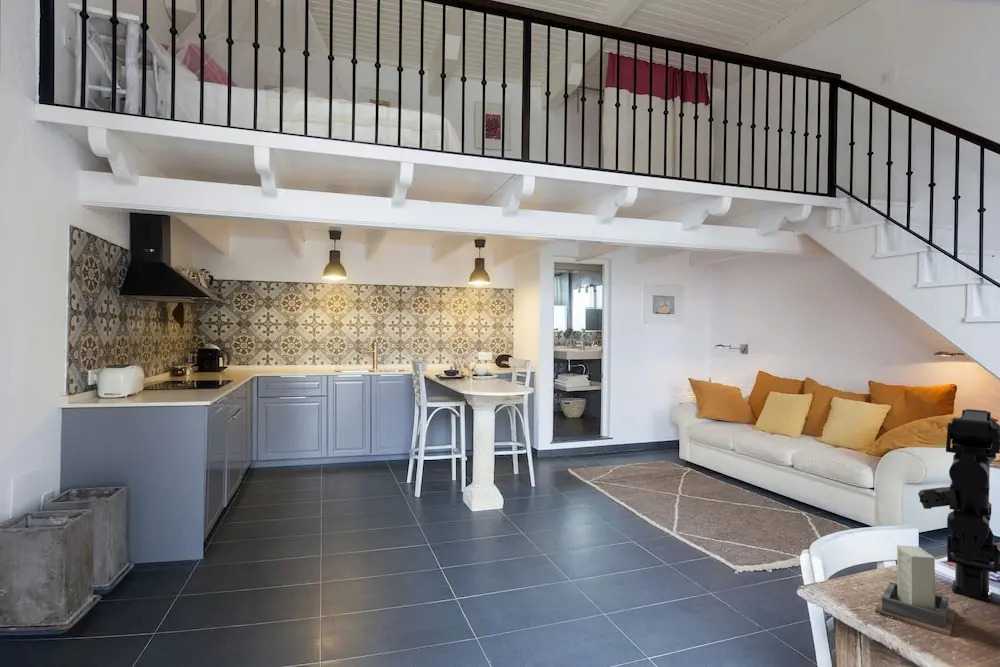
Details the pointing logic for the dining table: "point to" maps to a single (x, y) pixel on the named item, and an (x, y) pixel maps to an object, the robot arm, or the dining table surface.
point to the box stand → (917, 611)
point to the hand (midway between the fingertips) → (969, 554)
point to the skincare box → (916, 577)
